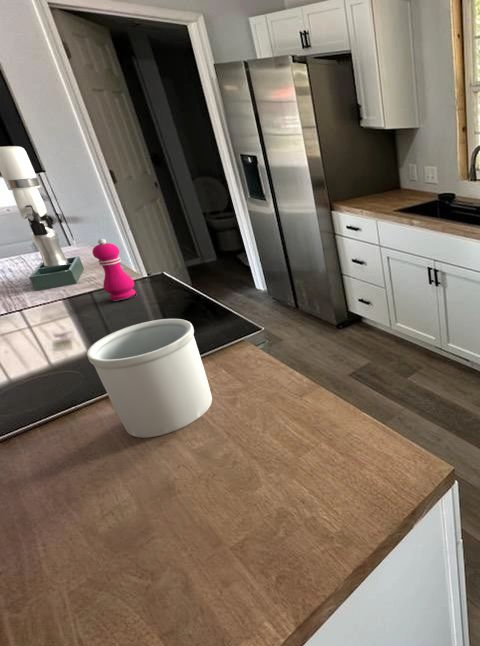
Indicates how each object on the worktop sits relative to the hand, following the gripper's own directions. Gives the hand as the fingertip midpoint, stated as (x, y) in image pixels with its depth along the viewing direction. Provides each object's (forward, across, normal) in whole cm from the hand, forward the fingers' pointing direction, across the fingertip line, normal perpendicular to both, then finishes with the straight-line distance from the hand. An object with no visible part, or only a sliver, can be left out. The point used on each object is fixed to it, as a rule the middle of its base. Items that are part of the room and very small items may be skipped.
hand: (44, 232), depth 147 cm
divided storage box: (+17, +5, 0) cm, 17 cm away
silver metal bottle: (+16, 0, 0) cm, 16 cm away
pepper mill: (+17, +42, +19) cm, 49 cm away
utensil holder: (+17, +122, +30) cm, 126 cm away
